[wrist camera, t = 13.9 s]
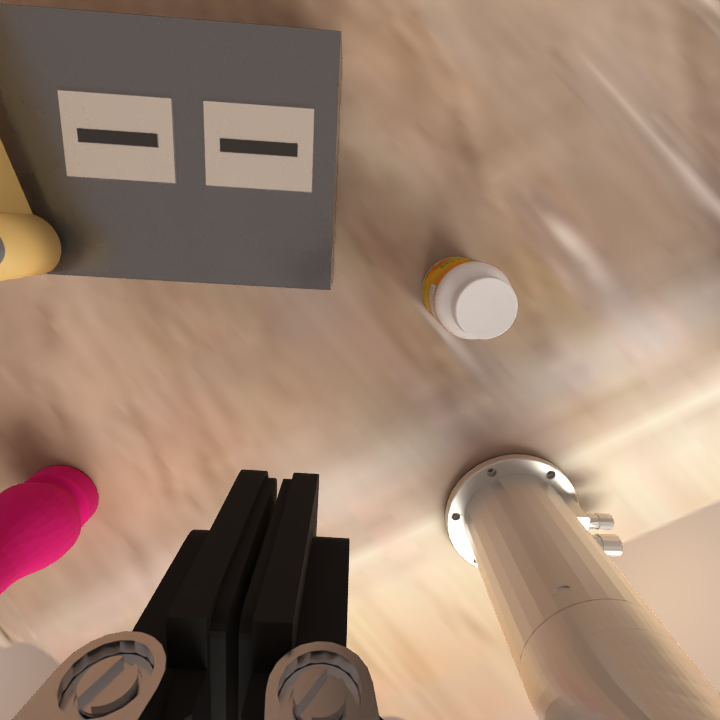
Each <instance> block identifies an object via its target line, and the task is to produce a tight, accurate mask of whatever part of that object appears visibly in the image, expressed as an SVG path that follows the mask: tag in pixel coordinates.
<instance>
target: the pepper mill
mask: <svg viewBox="0 0 720 720" xmlns="http://www.w3.org/2000/svg"><path fill="white" fill-rule="evenodd" d="M97 506H98V493H97V490H96V488H95V486H94V484H93V482H92V481H91V480H90V479H89V478H88V477H87V476H86V475H85V474H83V473H82V472H80V471H79V470H77V469H74V468H71V467H68V466H60V465H56V466H50V467H46V468H44V469H42V470H40V471H38V472H37V473H36V474H35V475H33V476H32V477H31V478H29V479H28V480H27V481H26V482H25V483H22V484H18V485H15V486H12V487H10V488H8V489H6V490H4V491H3V492H2V493H0V594H1V593H2V592H3V591H5V590H6V589H7V588H8V587H9V586H10V585H11V584H12V583H14V582H15V581H17V580H18V579H20V578H22V577H24V576H26V575H29V574H31V573H34V572H36V571H38V570H41V569H43V568H45V567H47V566H49V565H50V564H52V563H53V562H55V561H57V560H58V559H59V558H61V557H62V556H63V555H64V554H65V553H66V552H67V551H68V550H69V549H70V548H71V547H72V546H73V545H74V544H75V542H76V540H77V539H78V536H79V534H80V530H81V527H82V526H83V525H84V524H85V523H86V522H87V521H88V520H89V518H90V517H91V516H92V515H93V514H94V512H95V511H96V509H97Z"/></svg>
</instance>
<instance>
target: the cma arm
mask: <svg viewBox="0 0 720 720" xmlns="http://www.w3.org/2000/svg"><path fill="white" fill-rule="evenodd" d="M60 257H61V244H60V240H59V237H58V235H57V233H56V232H55V230H54V229H53V227H52V226H51V225H50V224H49V223H48V222H46V221H45V220H44V219H42V218H40V217H38V216H36V215H33V213H32V211H31V209H30V206H29V204H28V202H27V200H26V197H25V195H24V193H23V190H22V188H21V186H20V183H19V181H18V179H17V176H16V174H15V172H14V169H13V167H12V165H11V162H10V160H9V158H8V155H7V153H6V151H5V148H4V146H3V144H2V141H1V139H0V281H2V280H9V279H16V278H22V277H29V276H36V275H42V274H46V273H48V272H50V271H51V270H53V269H54V268H55V267H56V265H57V264H58V262H59V260H60Z"/></svg>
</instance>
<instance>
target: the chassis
mask: <svg viewBox="0 0 720 720" xmlns="http://www.w3.org/2000/svg"><path fill="white" fill-rule="evenodd" d="M341 74H342V43H341V31H333V30H321V29H308V28H296V27H284V26H271V25H259V24H246V23H234V22H222V21H209V20H197V19H184V18H172V17H160V16H147V15H135V14H122V13H110V12H98V11H85V10H73V9H60V8H48V7H36V6H23V5H11V4H0V139H1V141H2V144H3V146H4V148H5V151H6V153H7V155H8V158H9V160H10V162H11V165H12V167H13V169H14V172H15V174H16V176H17V179H18V181H19V183H20V186H21V188H22V190H23V193H24V195H25V197H26V200H27V202H28V204H29V206H30V209H31V211H32V213H33V215H36V216H38V217H40V218H42V219H44V220H45V221H46V222H48V223H49V224H50V225H51V226H52V227H53V229H54V230H55V232H56V233H57V235H58V237H59V240H60V244H61V257H60V260H59V262H58V264H57V265H56V267H55V268H54V269H53V270H51V271H50V272H48V273H46V274H57V275H75V276H92V277H110V278H127V279H145V280H163V281H180V282H198V283H215V284H233V285H250V286H268V287H286V288H303V289H321V290H330V289H331V286H332V282H333V261H334V237H335V214H336V191H337V167H338V144H339V121H340V98H341Z"/></svg>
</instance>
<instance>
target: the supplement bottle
mask: <svg viewBox="0 0 720 720" xmlns="http://www.w3.org/2000/svg"><path fill="white" fill-rule="evenodd" d="M422 299H423V302H424V304H425V306H426V308H427V310H428V311H429V312H430V313H431V315H432V316H433V317H434V318H435V319H436V320H437V321H438V322H439V323H440V324H441V325H442V326H443V327H444V328H445V329H446V330H447V331H449V332H450V333H452V334H453V335H455V336H457V337H460V338H464V339H491V338H494V337H497V336H499V335H501V334H502V333H504V332H505V331H506V330H508V329H509V327H510V326H511V325H512V323H513V322H514V320H515V317H516V315H517V310H518V301H517V297H516V294H515V292H514V290H513V289H512V287H511V285H510V282H509V280H508V279H507V277H506V276H505V275H504V273H503V272H501V271H500V270H499V269H498V268H496V267H494V266H492V265H490V264H487V263H484V262H480V261H475V260H472V259H468V258H464V257H448V258H445V259H442V260H440V261H438V262H437V263H435V264H434V265H433V266H432V267H431V268H430V269H429V270H428V272H427V273H426V275H425V277H424V280H423V283H422Z"/></svg>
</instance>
